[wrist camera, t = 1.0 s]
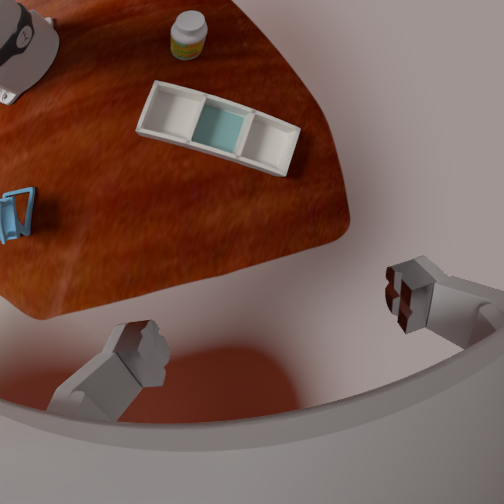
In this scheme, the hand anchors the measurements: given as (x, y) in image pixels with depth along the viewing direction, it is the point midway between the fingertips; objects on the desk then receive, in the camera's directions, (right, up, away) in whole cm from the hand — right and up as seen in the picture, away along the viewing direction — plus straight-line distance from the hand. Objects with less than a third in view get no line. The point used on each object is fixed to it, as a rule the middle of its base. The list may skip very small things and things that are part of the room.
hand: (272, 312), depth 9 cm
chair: (-41, +9, +25) cm, 49 cm away
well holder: (-6, +21, +31) cm, 38 cm away
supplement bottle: (-12, +36, +26) cm, 46 cm away
